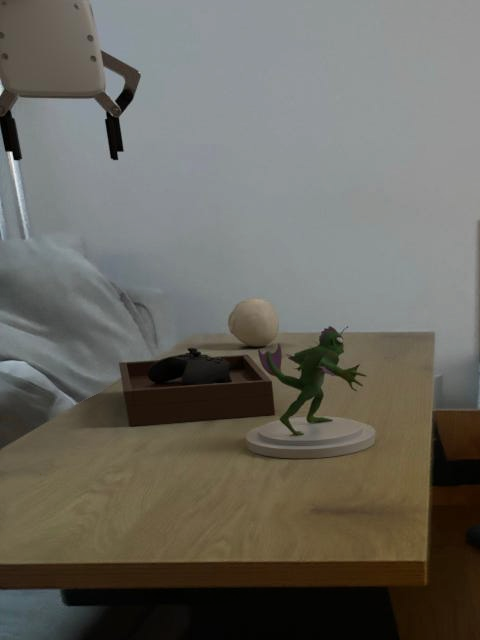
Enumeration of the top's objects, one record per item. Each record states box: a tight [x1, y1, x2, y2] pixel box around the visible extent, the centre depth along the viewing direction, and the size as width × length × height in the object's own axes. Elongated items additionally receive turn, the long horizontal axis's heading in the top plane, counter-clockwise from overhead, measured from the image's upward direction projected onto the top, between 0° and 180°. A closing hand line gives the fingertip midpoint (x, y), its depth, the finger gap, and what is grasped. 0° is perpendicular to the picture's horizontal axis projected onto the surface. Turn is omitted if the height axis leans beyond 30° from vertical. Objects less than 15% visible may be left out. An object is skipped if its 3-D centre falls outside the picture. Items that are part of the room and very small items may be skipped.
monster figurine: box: [245, 325, 376, 460], centre depth 90 cm, size 12×12×10 cm
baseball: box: [227, 297, 280, 348], centre depth 143 cm, size 7×7×7 cm
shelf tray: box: [118, 354, 276, 427], centre depth 108 cm, size 15×18×4 cm
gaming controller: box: [148, 347, 232, 386], centre depth 107 cm, size 10×5×6 cm
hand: (67, 160), depth 105 cm, fingers open, 9 cm apart
